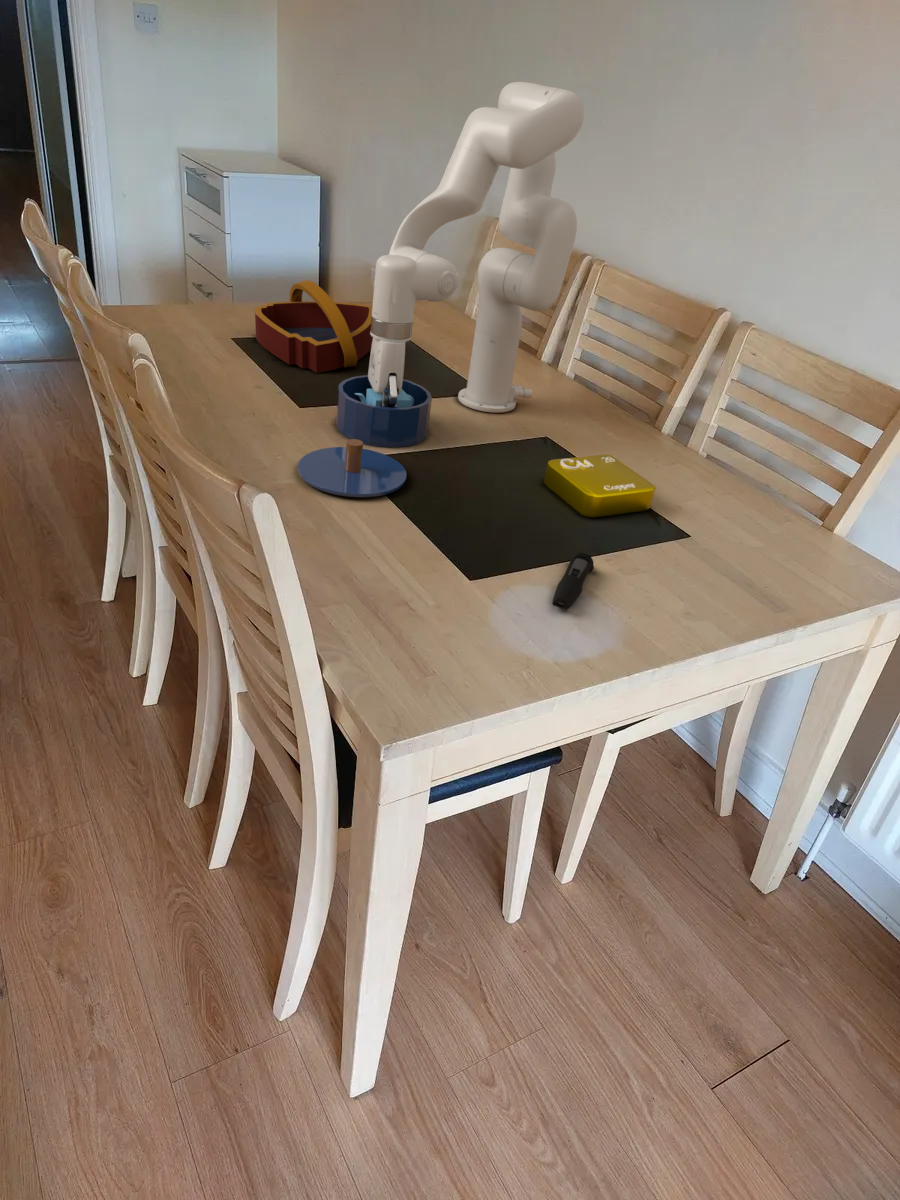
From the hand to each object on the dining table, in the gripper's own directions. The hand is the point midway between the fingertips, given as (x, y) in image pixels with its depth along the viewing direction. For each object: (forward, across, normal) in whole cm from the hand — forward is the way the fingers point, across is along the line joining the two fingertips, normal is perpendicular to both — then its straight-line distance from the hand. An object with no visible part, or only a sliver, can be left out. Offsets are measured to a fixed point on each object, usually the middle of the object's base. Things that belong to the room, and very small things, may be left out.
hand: (382, 420), depth 168 cm
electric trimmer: (+2, +58, +18) cm, 61 cm away
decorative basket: (+2, -47, -7) cm, 48 cm away
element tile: (+2, +28, +34) cm, 44 cm away
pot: (+2, 0, 0) cm, 2 cm away
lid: (+1, +21, -9) cm, 23 cm away
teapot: (+1, 0, 0) cm, 1 cm away
